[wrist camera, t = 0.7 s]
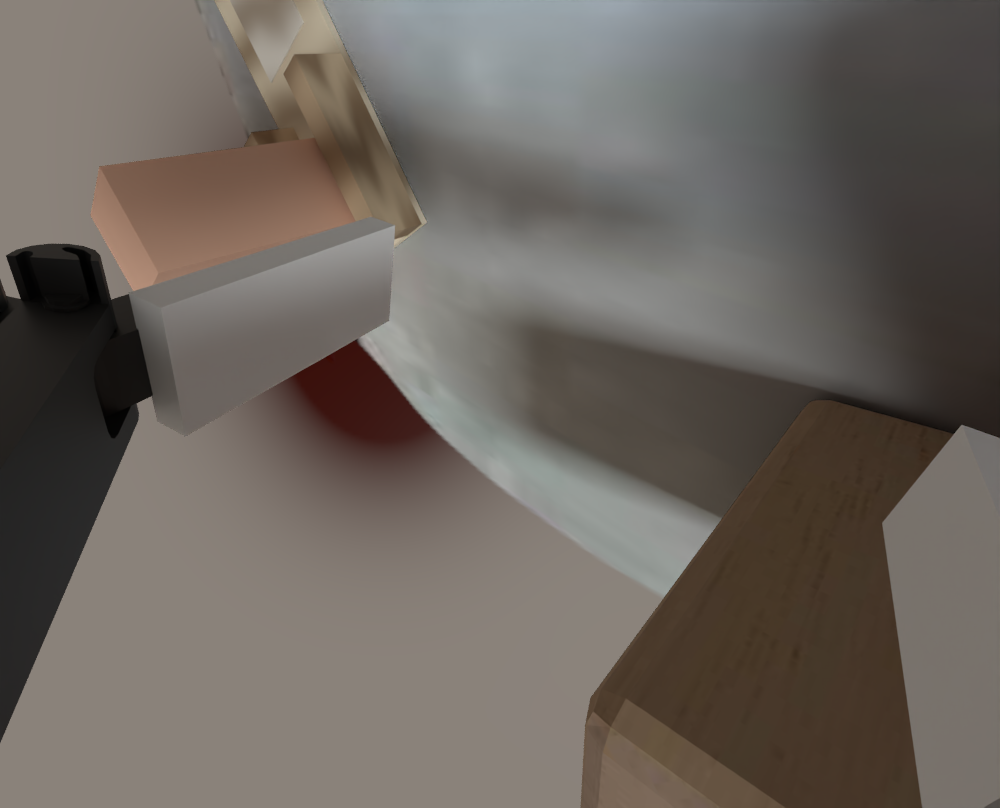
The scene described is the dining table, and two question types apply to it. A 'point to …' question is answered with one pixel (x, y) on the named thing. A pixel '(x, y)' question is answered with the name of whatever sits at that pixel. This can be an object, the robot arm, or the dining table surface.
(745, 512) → the block
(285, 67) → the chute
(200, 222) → the post
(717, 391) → the dining table surface
